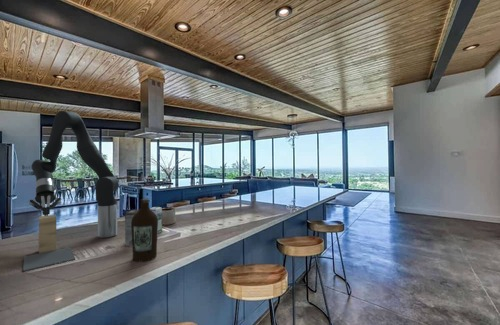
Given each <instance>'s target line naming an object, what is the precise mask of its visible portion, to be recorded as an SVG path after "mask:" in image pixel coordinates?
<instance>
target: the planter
mask: <svg viewBox="0 0 500 325" xmlns="http://www.w3.org/2000/svg"><path fill="white" fill-rule="evenodd" d="M161 208H162V207H161ZM176 221H177V220H176V208H174V207H163V208H162V226H168V225H169V226H170V225H174V224H176Z"/></svg>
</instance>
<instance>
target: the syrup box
mask: <svg viewBox="0 0 500 325" xmlns="http://www.w3.org/2000/svg"><path fill="white" fill-rule="evenodd" d="M149 208H150V209H151V210H152V211H153V212H154V213H155V214H156V216H157V218H158V230H157V234H159V233H161V232H163V225H162V207H160V206H153V207H149Z"/></svg>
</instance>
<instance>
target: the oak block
mask: <svg viewBox="0 0 500 325" xmlns="http://www.w3.org/2000/svg"><path fill="white" fill-rule="evenodd" d="M54 250H57V215H56V214H48V216H44V215H42V216H38V254H39V253H44V252H49V251H54Z"/></svg>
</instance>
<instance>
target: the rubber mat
mask: <svg viewBox="0 0 500 325" xmlns="http://www.w3.org/2000/svg"><path fill="white" fill-rule="evenodd" d="M75 259H77V258H76V256H75V255H74V252H73V251H72V248H71V247H65V248H61V249H56V250H54V251H49V252H44V253H39V252H38V253H35V254H31V255H30V254H29V255H24V256H23V266H22V267H23V269H22V271H23V272H29V271H33V270H37V269H41V268H45V267H46V268H47V267H49V266H54V265H59V264H63V263H67V261H68V262H71V260H72V261H76V260H75Z"/></svg>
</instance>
